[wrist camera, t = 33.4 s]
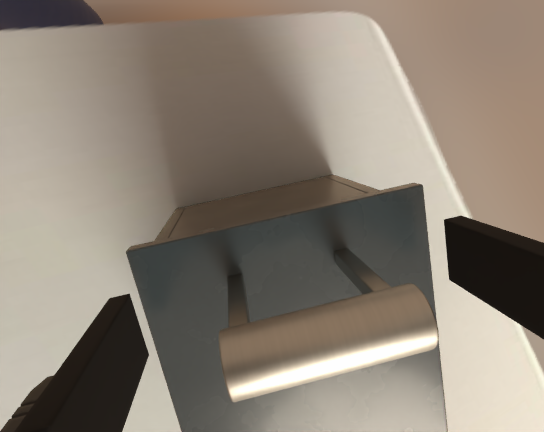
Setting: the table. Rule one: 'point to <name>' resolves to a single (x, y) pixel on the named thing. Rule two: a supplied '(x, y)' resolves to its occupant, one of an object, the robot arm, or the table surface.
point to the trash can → (260, 204)
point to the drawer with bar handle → (300, 319)
